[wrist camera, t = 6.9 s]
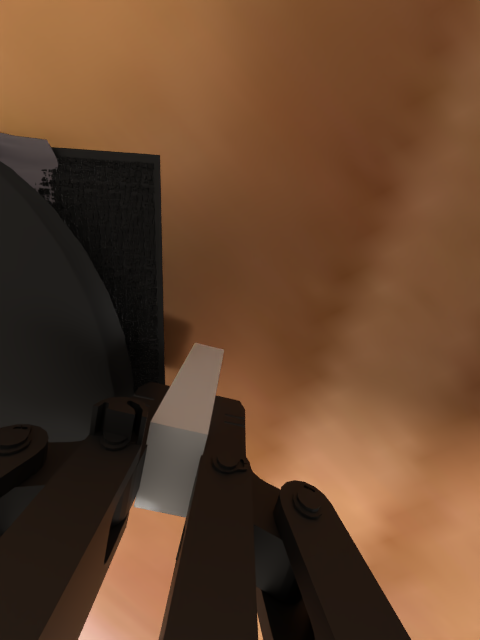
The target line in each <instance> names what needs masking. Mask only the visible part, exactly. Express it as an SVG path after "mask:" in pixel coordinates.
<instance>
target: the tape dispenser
mask: <svg viewBox="0 0 480 640" xmlns="http://www.w3.org/2000/svg"><path fill="white" fill-rule="evenodd" d="M148 382H154V383H159V384H163V385H165V366H164V320H163V274H162V228H161V182H160V155H151V154H137V153H123V152H110V151H96V150H82V149H69V148H55V147H50V145H49V143H48V141H47V140H44V139H37V138H29V137H20V136H13V135H9V134H4V133H0V428H2V427H6V426H11V425H16V424H31V425H35V426H39V427H41V428H43V429H44V430H45V431H47V434H48V438H49V439H48V442H74V441H82V440H85V439H86V437H87V436H88V435H89V431H90V424H91V417H92V409H93V405H95V404H96V403H98V402H99V401H101V400H104V399H107V398H111V397H129V398H131V397H132V396H133V395H134V393H135V392H136V391H137V389H138V388H139V387H140V386H142V385H144V384H146V383H148Z"/></svg>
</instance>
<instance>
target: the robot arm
mask: <svg viewBox="0 0 480 640" xmlns="http://www.w3.org/2000/svg"><path fill="white" fill-rule="evenodd" d="M223 354H224V349H220V348H215V347H211V346H207V345H203V344H199V343H194V345H193V347H192V348H191V350H190V352H189V354H188V356H187V357H186V359H185V361H184V363H183V365H182V366H181V368H180V370H179V372H178V374H177V375H176V377H175V379H174V381H173V382H172V384H171V386H167V385H163V384H159V383H154V382H148V383H146V384H144V385H142V386H140V387H139V388H138V389H137V391H136V392H135V393H134V395H133V396H132V397H131V398H129V397H111V398H107V399H104V400H101V401H99V402H98V403H96V404H95V405H93V409H92V417H91V424H90V431H89V435H88V436H87V437H86V439H85V440H82V441H74V442H48V439H49V438H48V434H47V431H45V430H44V429H43V428H41V427H39V426H35V425H31V424H16V425H11V426H6V427H2V428H0V640H78V638H79V636H80V633H81V631H82V629H83V626H84V624H85V622H86V619H87V617H88V615H89V612H90V610H91V608H92V605H93V603H94V601H95V598H96V596H97V594H98V591H99V589H100V587H101V584H102V582H103V580H104V577H105V575H106V573H107V570H108V568H109V566H110V563H111V561H112V559H113V556H114V554H115V552H116V549H117V547H118V545H119V542H120V540H121V538H122V535H123V533H124V531H125V528H126V525H127V520H128V515H129V510H130V508H131V506H132V504H133V501H134V499H135V497H136V499H135V505H134V507H137V508H142V509H147V510H152V511H157V512H162V513H167V514H172V515H176V516H181V517H186V520H185V525H184V529H183V533H182V537H181V541H180V545H179V549H178V553H177V557H176V564H175V568H174V573H173V577H172V582H171V586H170V591H169V595H168V600H167V604H166V609H165V613H164V618H163V623H162V627H161V632H160V636H159V640H258V625H257V613H258V618H259V622H260V627H261V632H262V636H263V640H411V639H410V637H409V635H408V633H407V632H406V630H405V628H404V627H403V625H402V623H401V622H400V620H399V618H398V616H397V615H396V613H395V611H394V610H393V608H392V606H391V604H390V603H389V601H388V599H387V598H386V596H385V594H384V593H383V591H382V589H381V587H380V586H379V584H378V582H377V581H376V579H375V577H374V576H373V574H372V572H371V570H370V569H369V567H368V565H367V564H366V562H365V560H364V559H363V557H362V555H361V553H360V552H359V550H358V548H357V547H356V545H355V543H354V542H353V540H352V538H351V536H350V535H349V533H348V531H347V530H346V528H345V526H344V525H343V523H342V521H341V519H340V518H339V516H338V514H337V513H336V511H335V509H334V508H333V506H332V504H331V503H330V501H329V500H328V499H327V498H326V496H325V495H324V494H323V493H322V492H320V491H319V490H318V489H317V488H316V487H314V486H312V485H310V484H308V483H306V482H302V481H296V480H295V481H289V482H287V483H285V484H284V485H283V486H282V487H281V490H280V489H278V488H276V487H274V486H272V485H270V484H268V483H266V482H265V481H263V480H262V479H260V478H259V477H258V476H257V475H255V474H254V473H253V471H252V470H251V466H250V462H249V461H248V459H247V458H246V442H245V409H244V407H243V406H242V404H241V402H240V401H237V400H233V399H229V398H224V397H220V396H216V390H217V385H218V380H219V375H220V370H221V365H222V359H223Z"/></svg>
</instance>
